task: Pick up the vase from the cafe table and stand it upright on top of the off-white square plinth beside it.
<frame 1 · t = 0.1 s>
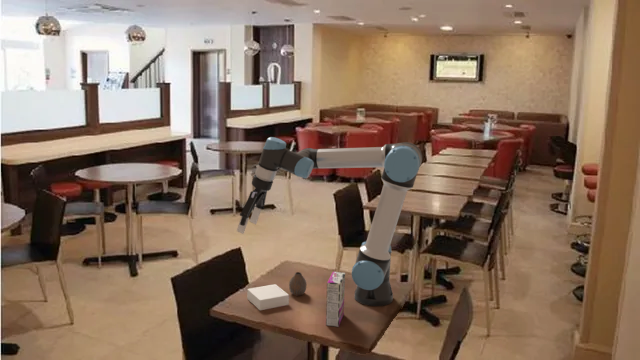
hand: (246, 227, 223), 28 cm above the table, tool tilted 20°, fingers open, 13 cm apart
candy bar box: (334, 320, 209), on the table
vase: (297, 294, 231), on the table
plinth: (267, 301, 223), on the table
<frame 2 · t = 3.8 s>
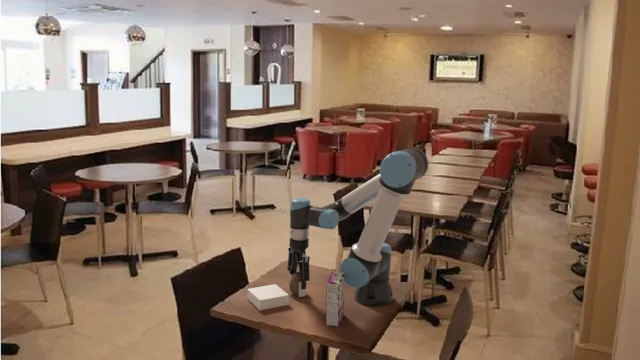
hand: (297, 292, 231), 0 cm above the table, tool pointing down, fingers closed on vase, 7 cm apart
candy bar box: (334, 320, 209), on the table, touching arm
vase: (297, 294, 231), on the table, touching gripper
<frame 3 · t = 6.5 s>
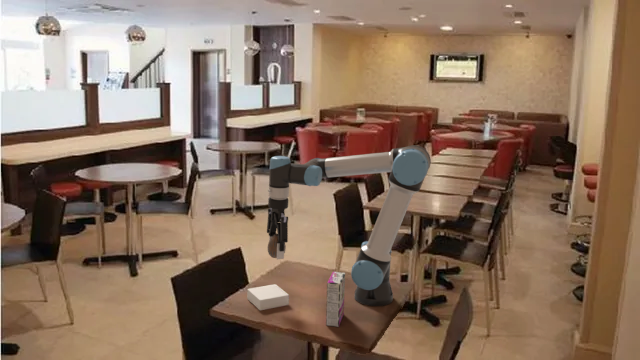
hand: (276, 255, 222), 18 cm above the table, tool pointing down, fingers closed on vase, 7 cm apart
candy bar box: (334, 320, 209), on the table
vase: (276, 257, 222), point 17 cm above the table, touching gripper
when the fingers open (6 cm above the table, at t = 9.7 s): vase drops 1 cm, resting on plinth.
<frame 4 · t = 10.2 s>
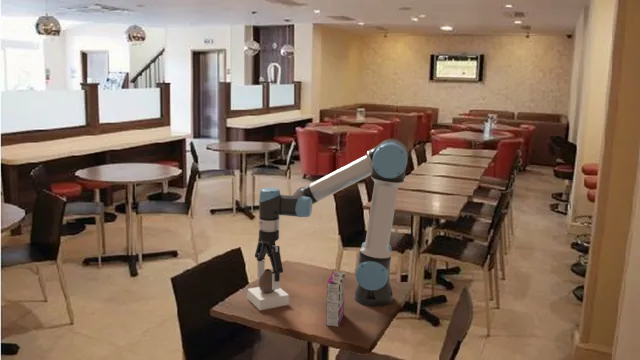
hand: (268, 282, 221), 8 cm above the table, tool pointing down, fingers open, 13 cm apart
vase: (267, 291, 222), point 4 cm above the table, touching plinth
everything else where it was.
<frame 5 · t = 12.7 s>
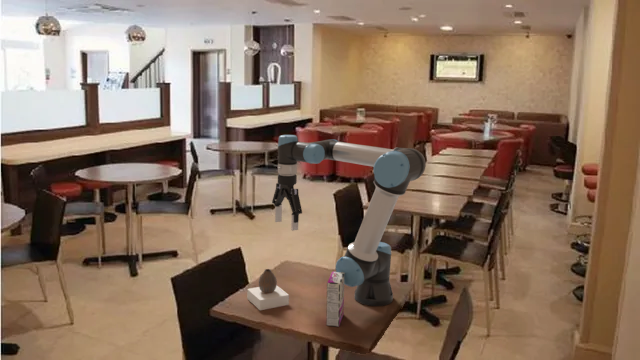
hand: (286, 225, 234), 26 cm above the table, tool pointing down, fingers open, 13 cm apart
nothing on the table moved.
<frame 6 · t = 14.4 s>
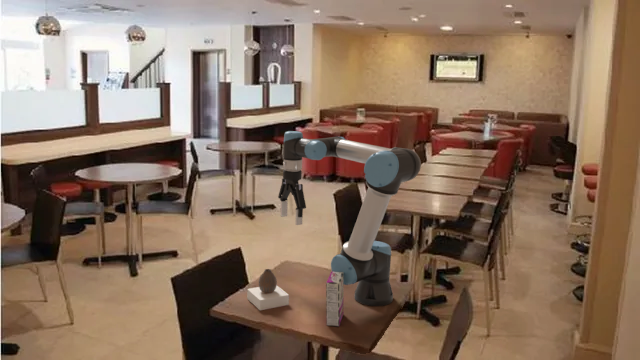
hand: (291, 220, 239), 27 cm above the table, tool pointing down, fingers open, 13 cm apart
candy bar box: (334, 320, 209), on the table, touching arm
everything else where it was.
at the end: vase inside the target area on the plinth (0.3 cm from its centre), point 3.8 cm above the plinth's base; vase tilted 0°; the gripper is holding nothing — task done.
